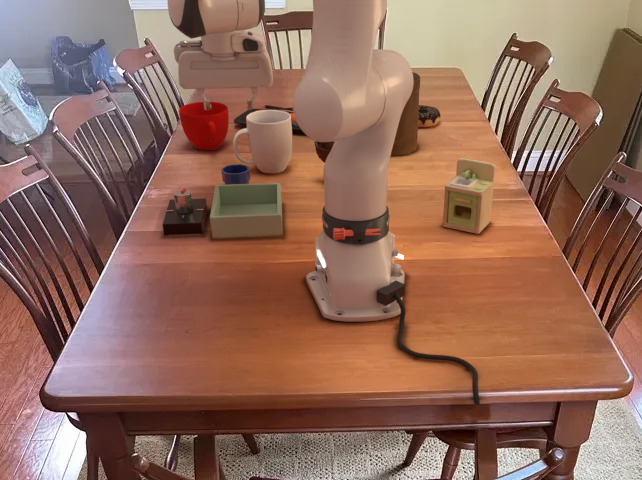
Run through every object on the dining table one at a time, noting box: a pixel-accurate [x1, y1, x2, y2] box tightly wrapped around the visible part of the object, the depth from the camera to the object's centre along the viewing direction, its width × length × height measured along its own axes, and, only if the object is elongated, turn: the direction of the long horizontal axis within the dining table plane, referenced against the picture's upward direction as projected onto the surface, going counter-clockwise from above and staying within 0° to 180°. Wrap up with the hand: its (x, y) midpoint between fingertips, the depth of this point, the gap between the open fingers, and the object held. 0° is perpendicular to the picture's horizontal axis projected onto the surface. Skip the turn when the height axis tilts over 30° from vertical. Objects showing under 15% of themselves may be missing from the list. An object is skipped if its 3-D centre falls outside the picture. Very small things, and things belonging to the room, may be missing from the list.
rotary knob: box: [173, 187, 193, 214], centre depth 150 cm, size 4×4×4 cm
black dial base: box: [162, 197, 208, 236], centre depth 152 cm, size 13×8×3 cm, turn 5°
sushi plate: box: [233, 104, 305, 134], centre depth 211 cm, size 29×30×4 cm
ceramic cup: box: [178, 101, 230, 151], centre depth 188 cm, size 13×17×10 cm
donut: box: [418, 104, 441, 128], centre depth 207 cm, size 11×12×4 cm
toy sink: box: [442, 157, 496, 235], centre depth 149 cm, size 8×7×13 cm
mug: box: [232, 110, 293, 174], centre depth 175 cm, size 15×11×13 cm
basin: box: [209, 182, 283, 239], centre depth 153 cm, size 18×15×5 cm
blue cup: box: [221, 163, 251, 185], centre depth 166 cm, size 6×6×6 cm
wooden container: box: [390, 71, 421, 157], centre depth 185 cm, size 15×15×22 cm
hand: (229, 108), depth 156 cm, fingers open, 8 cm apart
